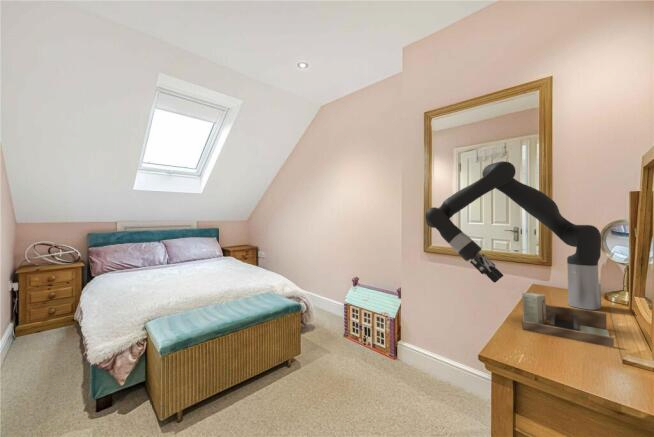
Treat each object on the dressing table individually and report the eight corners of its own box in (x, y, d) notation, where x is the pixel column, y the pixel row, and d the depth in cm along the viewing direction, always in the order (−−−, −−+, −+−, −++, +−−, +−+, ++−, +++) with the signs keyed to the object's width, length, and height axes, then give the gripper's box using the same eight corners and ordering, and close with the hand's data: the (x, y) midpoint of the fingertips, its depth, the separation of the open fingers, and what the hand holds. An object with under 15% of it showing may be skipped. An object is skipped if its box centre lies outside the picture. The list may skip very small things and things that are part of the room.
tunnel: (522, 329, 89) (522, 313, 89) (527, 315, 102) (527, 301, 102) (613, 347, 75) (613, 329, 75) (606, 328, 88) (605, 313, 89)
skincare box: (547, 325, 92) (546, 295, 92) (538, 327, 90) (537, 296, 91) (530, 320, 97) (530, 291, 97) (522, 322, 95) (521, 292, 95)
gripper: (467, 240, 101) (504, 275, 93) (476, 239, 112) (510, 270, 104) (452, 254, 105) (487, 289, 97) (462, 251, 115) (495, 282, 108)
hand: (499, 279), depth 101 cm, fingers open, 8 cm apart
